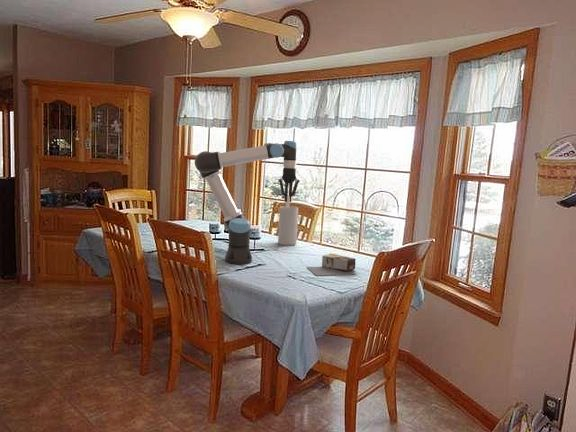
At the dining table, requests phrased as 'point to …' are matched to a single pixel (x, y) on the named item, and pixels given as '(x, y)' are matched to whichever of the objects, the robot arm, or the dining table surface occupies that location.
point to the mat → (328, 271)
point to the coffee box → (338, 262)
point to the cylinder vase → (288, 225)
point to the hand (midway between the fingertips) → (287, 207)
